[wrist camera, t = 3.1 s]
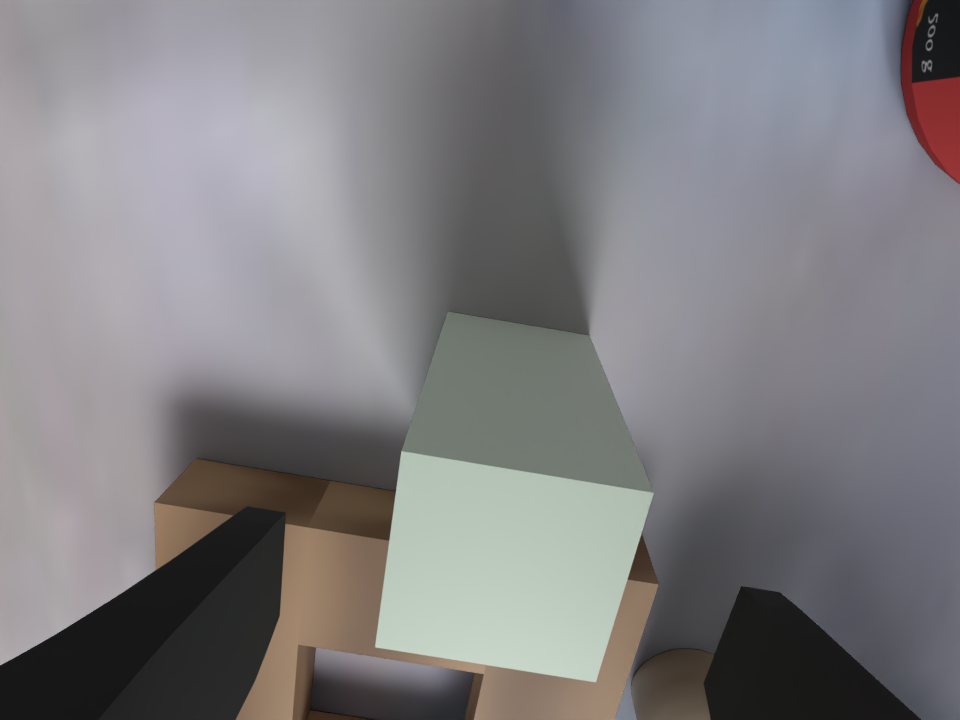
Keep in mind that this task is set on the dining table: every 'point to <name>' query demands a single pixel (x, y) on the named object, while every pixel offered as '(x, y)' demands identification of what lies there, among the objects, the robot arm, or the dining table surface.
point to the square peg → (513, 504)
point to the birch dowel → (672, 686)
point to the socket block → (369, 596)
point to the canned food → (934, 79)
